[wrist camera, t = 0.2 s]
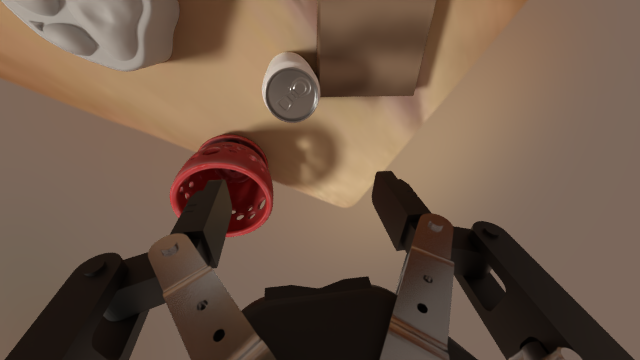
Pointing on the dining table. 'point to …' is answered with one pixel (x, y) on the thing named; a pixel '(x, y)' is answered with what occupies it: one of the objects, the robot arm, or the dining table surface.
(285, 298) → the robot arm
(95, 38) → the lumpy-topped squat cylinder
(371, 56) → the walnut stand
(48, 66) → the dining table surface
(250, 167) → the plant pot
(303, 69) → the can
